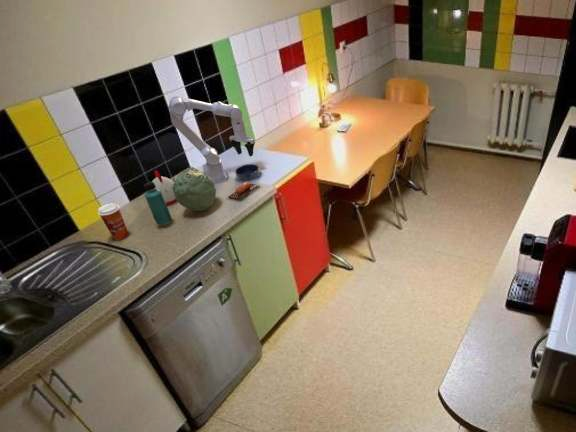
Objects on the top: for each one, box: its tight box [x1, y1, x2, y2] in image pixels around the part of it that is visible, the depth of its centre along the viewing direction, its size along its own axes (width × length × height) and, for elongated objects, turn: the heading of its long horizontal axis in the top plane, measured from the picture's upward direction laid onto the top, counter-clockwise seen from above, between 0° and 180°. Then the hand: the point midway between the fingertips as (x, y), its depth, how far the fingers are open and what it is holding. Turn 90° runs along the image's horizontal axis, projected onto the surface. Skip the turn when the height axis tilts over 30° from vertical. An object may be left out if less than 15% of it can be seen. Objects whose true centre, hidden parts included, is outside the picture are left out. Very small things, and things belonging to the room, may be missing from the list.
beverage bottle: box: [143, 181, 173, 226], centre depth 176 cm, size 6×7×20 cm
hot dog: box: [235, 181, 252, 194], centre depth 200 cm, size 9×3×3 cm, turn 155°
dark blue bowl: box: [234, 163, 261, 182], centre depth 215 cm, size 12×12×4 cm
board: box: [228, 183, 260, 202], centre depth 202 cm, size 14×7×1 cm, turn 155°
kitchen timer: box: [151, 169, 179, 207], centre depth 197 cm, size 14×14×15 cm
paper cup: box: [97, 203, 129, 241], centre depth 172 cm, size 8×8×14 cm
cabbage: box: [172, 166, 217, 212], centre depth 186 cm, size 16×19×20 cm
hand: (245, 154), depth 217 cm, fingers open, 7 cm apart
